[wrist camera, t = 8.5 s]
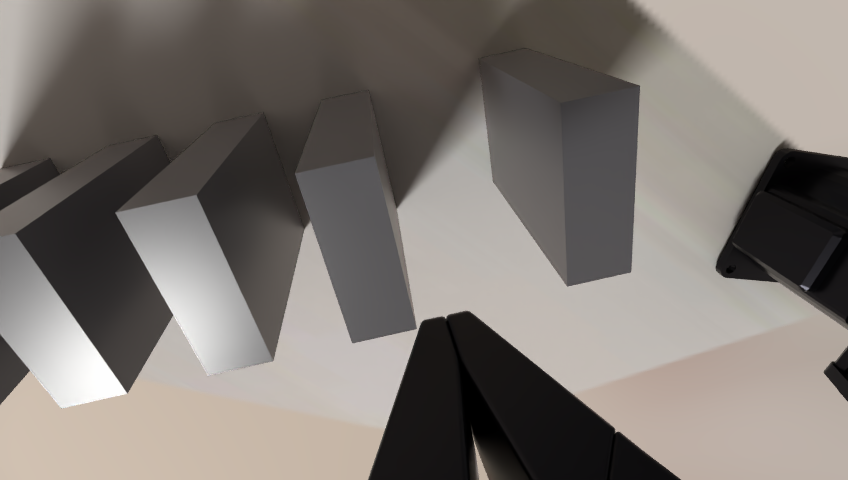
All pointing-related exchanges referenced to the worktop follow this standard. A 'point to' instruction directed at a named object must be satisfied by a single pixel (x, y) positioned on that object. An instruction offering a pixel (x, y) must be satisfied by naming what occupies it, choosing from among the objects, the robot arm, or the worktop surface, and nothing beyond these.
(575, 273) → the tile
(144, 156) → the tile
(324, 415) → the worktop surface
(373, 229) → the tile
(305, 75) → the worktop surface
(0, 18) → the worktop surface
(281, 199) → the tile
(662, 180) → the worktop surface
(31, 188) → the tile
